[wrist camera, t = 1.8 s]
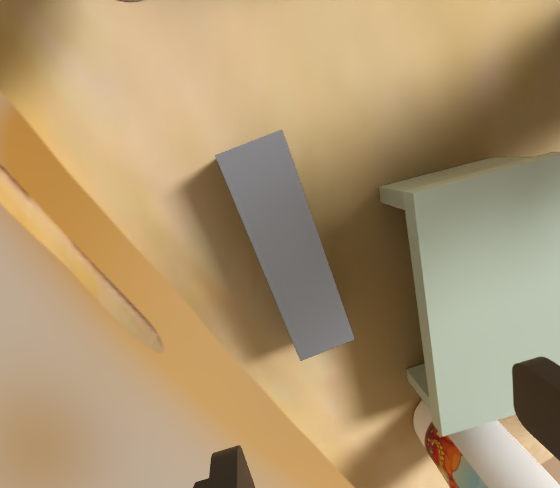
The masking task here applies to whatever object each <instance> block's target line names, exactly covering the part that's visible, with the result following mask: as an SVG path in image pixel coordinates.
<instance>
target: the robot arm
mask: <svg viewBox="0 0 560 488" xmlns="http://www.w3.org/2000/svg"><path fill="white" fill-rule="evenodd" d="M512 381H513V405H514V410H515V413H516V415H517V417H518V419H519V420H520V422H521V423H522V425H523V426H524V427H525V428H526V429H527V431H528V432H530V433H531V434H532V435H533V436H534V437H535V438H536V439H537V440H538V441H539V442H540V443H541V444H542V445H543V446H544V447H545V448H547V449H548V450H549V451H550V452H551V453H552V454H553V455H554V456H555V457H556V458H557V459H559V461H560V366H559V365H558V364H556V363H555V362H553V361H551V360H550V359H548V358H546V357H536V358H533V359H530V360H526V361H523V362H520V363H516V364H514V365H513V367H512ZM210 465H211V466H210V476H209V478H208V479H205V480H202V481H198V482H196V483H195V485H194V487H193V488H255V486H254V482H253V479H252V477H251V474H250V471H249V468H248V466H247V462H246V460H245V457H244V454H243V451H242V448H241V447H240V446H235V447H232V448H228V449H225V450H222V451H219V452H215V453H213V454H212V457H211V464H210Z"/></svg>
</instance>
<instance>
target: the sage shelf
mask: <svg viewBox="0 0 560 488" xmlns="http://www.w3.org/2000/svg"><path fill="white" fill-rule="evenodd" d="M379 193H380V200H381V203H383V204H387V205H390V206H393V207H396V208H400V209H403V210H405V215H406V223H407V230H408V238H409V246H410V253H411V261H412V269H413V276H414V284H415V292H416V299H417V307H418V315H419V322H420V330H421V338H422V346H423V353H424V361H425V364H421V365H418V366H414V367H411V368H408V369H406V373H407V379H408V381H409V383H410V384H411V385H412V387H413V388H414V389H415V391H416V392H417V393H418V395H419V396H420V397H421V399H422V400H423V401H424V403H425V404H426V405H427V407H428V408H429V409H430V411H431V415H432V422H433V425H434V426H435V427H436V429H437V430H438V431H439V433H440V434H441V436H442V437H443V436H447V435H450V434H453V433H456V432H460V431H463V430H466V429H470V428H473V427H476V426H479V425H483V424H486V423H489V422H492V421H496V420H499V419H502V418H506V417H509V416H512V415H515V414H516V413H515V410H514V405H513V381H512V367H513V365H514V364H516V363H520V362H523V361H526V360H530V359H533V358H536V357H546V358H548V359H550V360H551V361H553V362H555V363H556V364H558V365H559V366H560V152H550V153H546V154H543V155H539V156H535V157H491V158H487V159H483V160H479V161H475V162H472V163H468V164H464V165H460V166H456V167H452V168H448V169H445V170H441V171H437V172H433V173H429V174H425V175H422V176H418V177H414V178H410V179H406V180H402V181H398V182H395V183H391V184H387V185H383V186H379Z"/></svg>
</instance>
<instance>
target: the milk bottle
mask: <svg viewBox="0 0 560 488" xmlns="http://www.w3.org/2000/svg"><path fill="white" fill-rule="evenodd" d="M413 424H414V430H415V432H416V434H417V436H418V437H419V439H420V441H421V442H422V444H423V446H424V447H425V449H426V450H427V452H428V453H429V455H430V457H431V458H432V460H433V461H434V463H435V464H436V466H437V468H438V469H439V471H440V472H441V474H442V475H443V477H444V478H445V480H446V482H447V483H448V485H449V486H450V488H560V485H559V484H558V483H557V482H556V481H555V480H554V479H553V478H552V476H551V475H550V474H549V473H548V472H547V471H546V470H545V469H544V468H543V467H542V466H541V465H540V464H539V463H538V462H537V461H536V460H535V459H534V458H533V456H532V455H531V454H530V453H529V452H528V451H527V450H526V449H525V448H524V447H523V446H522V445H521V444H520V443H519V442H518V441H517V440H516V439H515V438H514V437H513V436H512V435H511V434H510V433H509V432H508V431H507V430H506V429H505V428H504V427H503V426H502V425H501V424H500V423H499V422H498V421H497V420H496V421H492V422H489V423H486V424H483V425H479V426H476V427H473V428H470V429H466V430H463V431H460V432H456V433H453V434H450V435H447V436H443V437H442V436H441V434H440V433H439V431H438V430H437V429H436V427H435V426H434V425H433V422H432V415H431V411H430V409H429V408H428V407H427V405H426V404H425V403H424V401H423V400H421V401H420V403H419V404H418V406H417V408H416V410H415V412H414V416H413Z"/></svg>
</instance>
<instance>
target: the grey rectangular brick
mask: <svg viewBox="0 0 560 488" xmlns="http://www.w3.org/2000/svg"><path fill="white" fill-rule="evenodd" d="M215 157H216V159H217V161H218V164H219V166H220V169H221V171H222V173H223V176H224V178H225V181H226V183H227V186H228V188H229V190H230V193H231V195H232V198H233V200H234V202H235V205H236V207H237V210H238V212H239V214H240V217H241V219H242V222H243V224H244V226H245V229H246V231H247V234H248V236H249V238H250V241H251V243H252V246H253V248H254V251H255V253H256V255H257V258H258V260H259V263H260V265H261V267H262V270H263V272H264V275H265V277H266V279H267V282H268V284H269V287H270V289H271V291H272V294H273V296H274V299H275V301H276V304H277V306H278V308H279V311H280V313H281V316H282V318H283V320H284V323H285V325H286V328H287V330H288V332H289V335H290V337H291V340H292V342H293V344H294V347H295V349H296V352H297V354H298V356H299V359H300V361H302V360H305V359H307V358H310V357H312V356H315V355H317V354H320V353H322V352H325V351H327V350H330V349H332V348H334V347H337V346H339V345H342V344H344V343H347V342H349V341H352V340H354V339H355V338H354V335H353V333H352V330H351V327H350V324H349V321H348V318H347V315H346V312H345V309H344V307H343V304H342V301H341V298H340V295H339V292H338V289H337V286H336V284H335V281H334V278H333V275H332V272H331V269H330V266H329V263H328V260H327V258H326V255H325V252H324V249H323V246H322V243H321V240H320V237H319V234H318V232H317V229H316V226H315V223H314V220H313V217H312V214H311V211H310V209H309V206H308V203H307V200H306V197H305V194H304V191H303V188H302V185H301V183H300V180H299V177H298V174H297V171H296V168H295V165H294V162H293V160H292V157H291V154H290V151H289V148H288V145H287V142H286V139H285V136H284V134H283V131H282V130H280V131H277V132H274V133H272V134H269V135H267V136H264V137H261V138H259V139H256V140H254V141H251V142H249V143H246V144H243V145H241V146H238V147H236V148H233V149H230V150H228V151H225V152H223V153H220V154H217V155H215Z"/></svg>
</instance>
